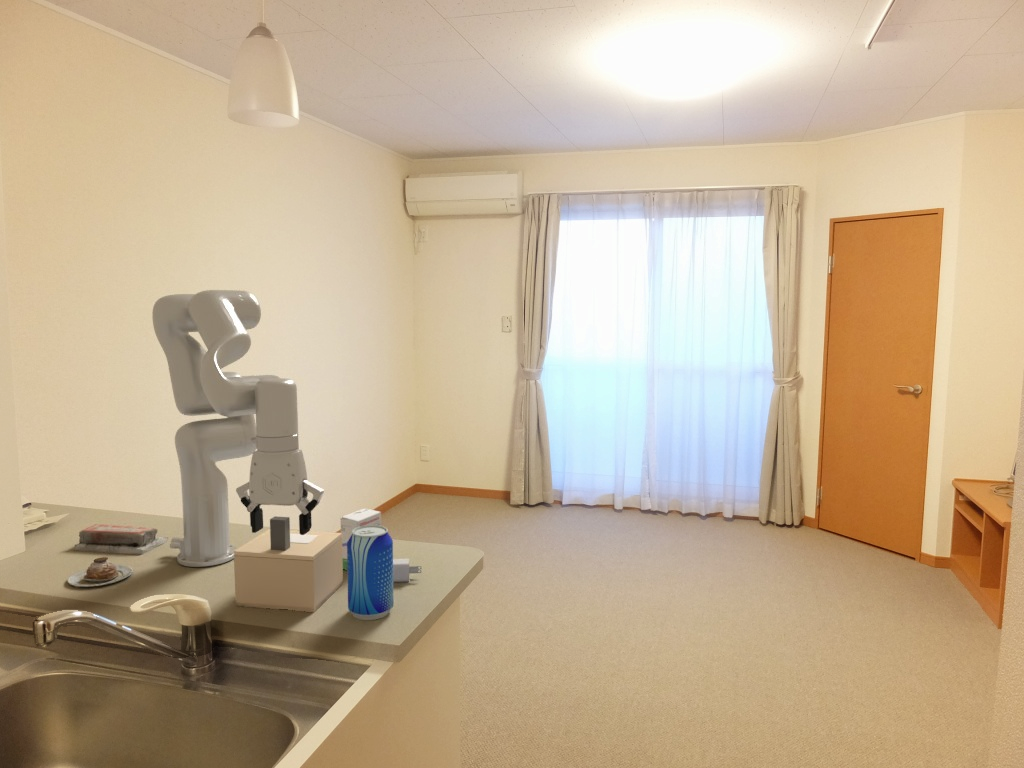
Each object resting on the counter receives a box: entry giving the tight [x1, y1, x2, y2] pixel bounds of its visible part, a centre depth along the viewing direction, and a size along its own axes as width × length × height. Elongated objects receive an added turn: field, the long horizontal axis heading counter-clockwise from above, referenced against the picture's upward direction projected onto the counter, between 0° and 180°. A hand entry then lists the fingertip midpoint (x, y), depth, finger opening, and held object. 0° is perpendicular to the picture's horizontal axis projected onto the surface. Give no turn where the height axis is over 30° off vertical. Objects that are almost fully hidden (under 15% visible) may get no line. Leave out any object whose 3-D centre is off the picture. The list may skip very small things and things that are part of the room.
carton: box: [233, 537, 344, 613], centre depth 143 cm, size 16×14×10 cm
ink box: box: [340, 508, 382, 571], centre depth 159 cm, size 8×5×12 cm, turn 152°
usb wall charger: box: [393, 558, 422, 583], centre depth 152 cm, size 4×7×4 cm, turn 97°
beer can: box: [346, 525, 394, 621], centre depth 135 cm, size 8×8×16 cm
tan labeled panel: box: [234, 516, 342, 561], centre depth 142 cm, size 16×14×7 cm
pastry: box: [66, 556, 134, 589], centre depth 151 cm, size 12×12×5 cm
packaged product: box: [73, 523, 169, 555], centre depth 171 cm, size 18×5×10 cm
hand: (281, 531), depth 138 cm, fingers open, 9 cm apart
